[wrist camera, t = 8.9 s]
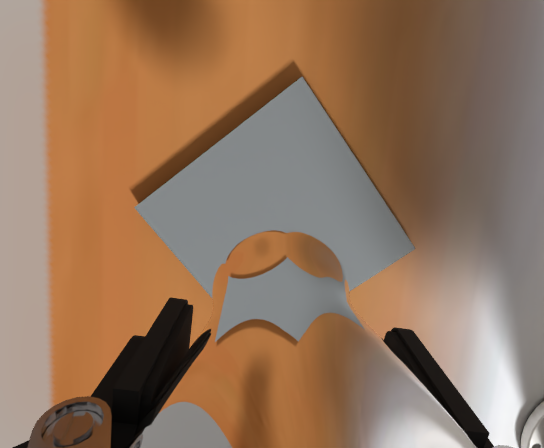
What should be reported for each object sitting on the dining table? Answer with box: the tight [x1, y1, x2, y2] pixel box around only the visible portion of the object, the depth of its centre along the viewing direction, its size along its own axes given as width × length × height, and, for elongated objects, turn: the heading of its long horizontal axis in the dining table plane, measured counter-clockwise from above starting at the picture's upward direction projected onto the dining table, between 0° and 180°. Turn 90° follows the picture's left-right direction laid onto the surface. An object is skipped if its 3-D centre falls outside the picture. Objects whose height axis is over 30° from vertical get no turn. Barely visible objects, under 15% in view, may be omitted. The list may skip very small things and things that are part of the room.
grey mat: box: [134, 77, 415, 297], centre depth 26 cm, size 16×16×1 cm
